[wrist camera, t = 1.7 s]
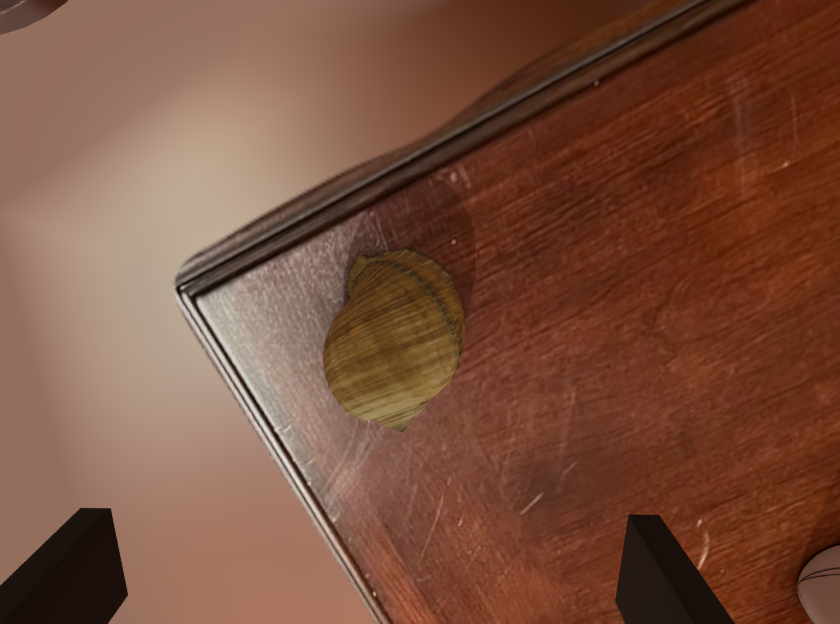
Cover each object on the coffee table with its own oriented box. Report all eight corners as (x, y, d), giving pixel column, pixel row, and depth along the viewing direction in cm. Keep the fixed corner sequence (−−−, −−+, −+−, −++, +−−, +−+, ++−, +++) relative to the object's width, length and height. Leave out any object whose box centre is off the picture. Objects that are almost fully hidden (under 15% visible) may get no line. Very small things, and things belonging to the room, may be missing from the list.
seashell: (380, 253, 30) (270, 278, 25) (464, 221, 25) (351, 243, 20) (423, 396, 31) (326, 453, 25) (513, 392, 26) (418, 461, 20)
